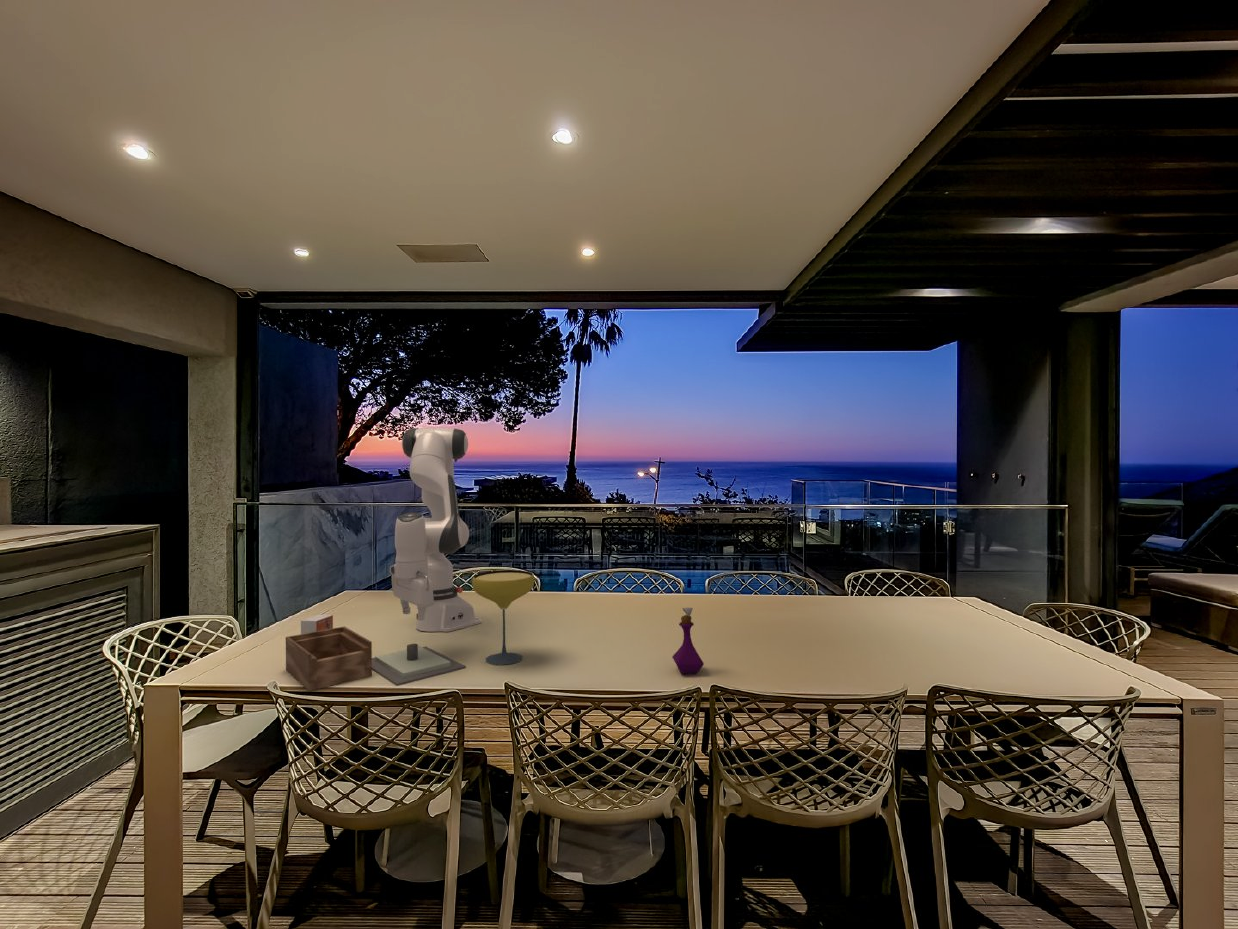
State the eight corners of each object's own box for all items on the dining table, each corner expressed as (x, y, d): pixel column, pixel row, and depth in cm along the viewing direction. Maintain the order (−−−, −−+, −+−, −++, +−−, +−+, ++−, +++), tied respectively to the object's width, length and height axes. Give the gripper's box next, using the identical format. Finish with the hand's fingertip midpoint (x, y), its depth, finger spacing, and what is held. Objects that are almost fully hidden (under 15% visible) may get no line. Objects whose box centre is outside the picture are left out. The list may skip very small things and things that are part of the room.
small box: (316, 655, 184) (316, 621, 184) (300, 654, 185) (300, 620, 185) (333, 647, 192) (333, 614, 192) (318, 646, 193) (318, 614, 193)
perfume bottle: (672, 668, 170) (671, 604, 170) (698, 667, 170) (697, 603, 170) (676, 677, 162) (676, 610, 162) (704, 676, 163) (703, 609, 163)
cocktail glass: (485, 674, 166) (484, 583, 166) (464, 656, 181) (464, 573, 181) (544, 662, 176) (544, 576, 176) (520, 646, 191) (520, 568, 191)
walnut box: (344, 657, 181) (344, 626, 181) (371, 676, 165) (371, 641, 165) (285, 670, 171) (285, 637, 171) (308, 691, 154) (308, 654, 154)
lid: (420, 650, 186) (420, 633, 186) (450, 666, 171) (450, 647, 171) (375, 660, 177) (375, 643, 177) (403, 678, 162) (403, 658, 162)
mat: (425, 647, 190) (425, 646, 190) (465, 667, 171) (465, 666, 171) (361, 662, 177) (361, 660, 177) (396, 685, 158) (396, 683, 158)
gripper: (438, 573, 169) (440, 621, 169) (407, 563, 184) (409, 608, 184) (416, 576, 164) (418, 626, 165) (387, 566, 179) (388, 612, 180)
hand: (413, 616), depth 175 cm, fingers open, 8 cm apart
